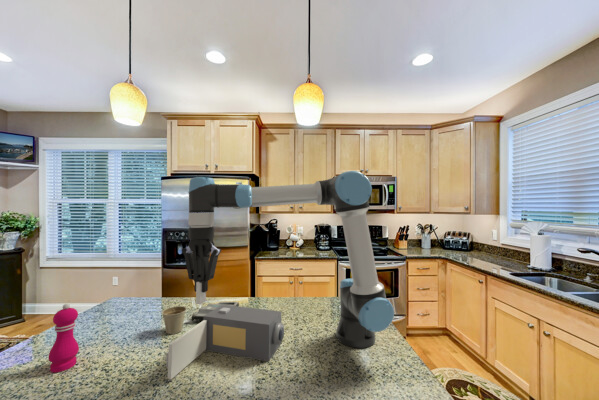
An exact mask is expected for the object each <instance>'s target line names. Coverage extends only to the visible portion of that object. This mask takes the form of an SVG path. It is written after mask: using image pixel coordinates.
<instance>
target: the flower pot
mask: <svg viewBox="0 0 599 400" xmlns="http://www.w3.org/2000/svg"><path fill="white" fill-rule="evenodd" d="M187 310H188V309H187V307H186V306H183V305H181V306H180V305H178V306H177V305H175V306H171V307H168V308H165V309H164V310H162V312H161V315H162V317H163V320H164V327H165V333H166V334H168V335H176V334H178V333H181V332H182V331H183V327H184V321H185V314H186V312H187Z"/></svg>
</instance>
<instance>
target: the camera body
mask: <svg viewBox="0 0 599 400" xmlns="http://www.w3.org/2000/svg"><path fill="white" fill-rule="evenodd" d="M203 320H207V332H206V350H205V351H207V352H213V353H219V354H224V355H225V354H226V355H230V356H236V357H240V358H241V357H243V358H249V359H252V360H253V359H254V360H259V361H265V362H270V361H271V359H272V358H273V356H274V355H275V353H277V351H278V349H279V348H280V346H281V345H282V342H283V340H284V337H285V325H284V323H283V322H282V311H281V310H272V309H264V308H263V309H262V308H255V307H247V306H246V307H245V306H240V305H239V306H230V305H221V306H219V307H217V308H216V309H214V310H213V311H211V312H209V313H208V314H206V315H204V316H203ZM203 320H202V321H203Z"/></svg>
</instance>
